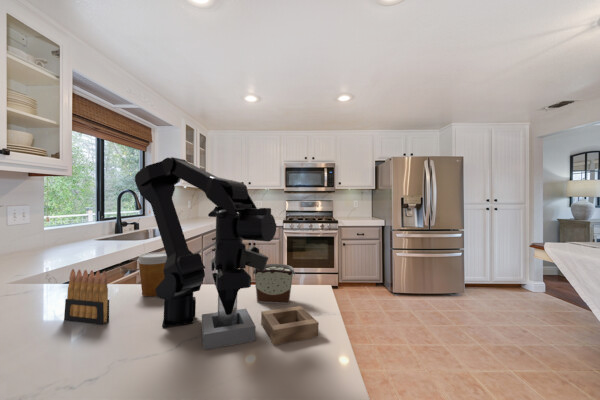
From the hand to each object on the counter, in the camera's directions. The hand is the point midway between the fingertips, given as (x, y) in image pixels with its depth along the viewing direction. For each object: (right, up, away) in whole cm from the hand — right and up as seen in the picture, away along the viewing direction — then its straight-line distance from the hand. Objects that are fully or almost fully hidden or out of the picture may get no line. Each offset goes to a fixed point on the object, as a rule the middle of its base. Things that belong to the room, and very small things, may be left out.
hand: (227, 310), depth 57 cm
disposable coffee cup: (-30, -5, +25) cm, 40 cm away
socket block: (0, -5, 0) cm, 5 cm away
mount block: (+13, -5, +2) cm, 14 cm away
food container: (+8, -6, +22) cm, 24 cm away
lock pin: (0, -4, 0) cm, 4 cm away
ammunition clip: (-35, -5, +5) cm, 35 cm away
